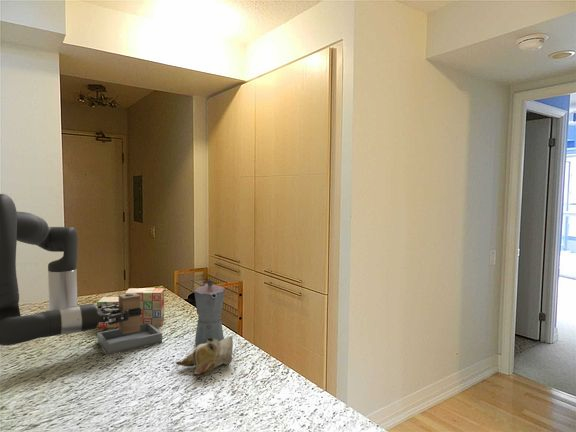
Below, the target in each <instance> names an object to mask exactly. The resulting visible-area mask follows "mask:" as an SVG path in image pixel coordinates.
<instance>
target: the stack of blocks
mask: <svg viewBox="0 0 576 432" xmlns="http://www.w3.org/2000/svg"><path fill="white" fill-rule="evenodd" d="M127 293H137V294H138V295H140V308H141V315H140V324H144V323H150V324H151V325H152V326H154V327H162V325H163V323H164V321H165V288H161V287H159V288H157V287H156V288H155V287H143V288H142V287H141V288H140V287H139V288H133V287H132V288H128V289H127V290H126V291H125V292H124V294H127ZM116 303H118V304H119V296H103V297H101V298H100V299H98V301H97V303H96V307H97V309H98V305H106V304H116ZM97 328H99V329H101V328H119V323H115V324H112V325H108V323H104V322H99V323H98V326H97Z"/></svg>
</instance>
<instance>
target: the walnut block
mask: <svg viewBox="0 0 576 432" xmlns="http://www.w3.org/2000/svg"><path fill="white" fill-rule="evenodd" d="M118 297H119V309H120V310H126V309H127V310H128V309H135V308H140V295H138V294H137V293H127V294H125V293H120V294H118ZM122 316H124V315H122ZM118 329H119V330H120V331H121V332H122V333H123V334H126V333H131V332H136V331H140V315H138V316H133V317H129V318H128V320H127V321H123V322H119V327H118Z"/></svg>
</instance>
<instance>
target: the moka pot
mask: <svg viewBox="0 0 576 432" xmlns="http://www.w3.org/2000/svg"><path fill="white" fill-rule="evenodd" d="M225 293H226V288H225V287H223V286H220V285H213V280H208V281H204V283H203V285H202V286H198V287H196V289H194V299H195V308H196V314H197V319H198V320H197V322H196V323H197V325H196V331H195V332H196V333H195V337H194V338H195V339H194V343H195V345H196V346H198V345H199V344H201V343H204V342H207V340H208V338H213V339H217V340H218V342H219V341H221V340H222V339H225V337H224V329H223V324H222V313H223V312H222V311H223V306H224V301H225V295H226V294H225Z"/></svg>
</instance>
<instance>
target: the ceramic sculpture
mask: <svg viewBox="0 0 576 432" xmlns="http://www.w3.org/2000/svg"><path fill="white" fill-rule="evenodd" d="M233 343H234V342H233V336H232V335H231V336H228V337H224V339H222V340H221V341H219V342H218V340H217V339H213V338H208V340H207V342H204V343H201V344H199V345H196V347H195V348H194V349H193V352H192V353H191V354H189V355H188V356H186V358H183V359H182V360H180V361H176V362H175V364H176V365H178V366H181V367H187V368H188V367H193V366H194V367H195V370H194V372H193V374H192V375H191V376H192V377H204V376H207V375H208V374H209V373H210V372H211V371H212V370H214V369H216V368H217V367H219V366H221V365H226V366H229V365H230V364H231V363H232V359H233V345H234V344H233Z"/></svg>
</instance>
